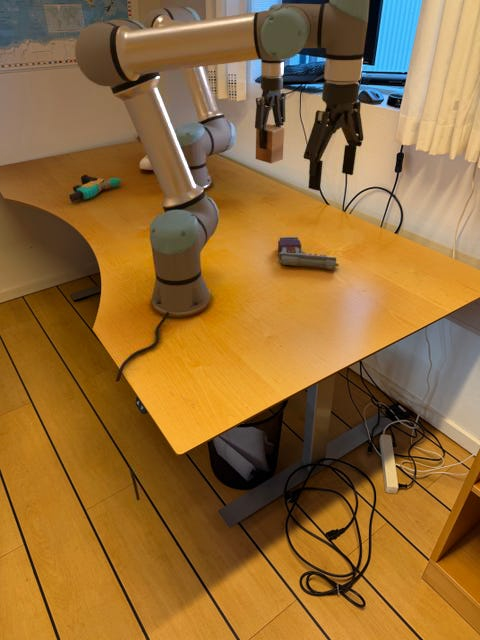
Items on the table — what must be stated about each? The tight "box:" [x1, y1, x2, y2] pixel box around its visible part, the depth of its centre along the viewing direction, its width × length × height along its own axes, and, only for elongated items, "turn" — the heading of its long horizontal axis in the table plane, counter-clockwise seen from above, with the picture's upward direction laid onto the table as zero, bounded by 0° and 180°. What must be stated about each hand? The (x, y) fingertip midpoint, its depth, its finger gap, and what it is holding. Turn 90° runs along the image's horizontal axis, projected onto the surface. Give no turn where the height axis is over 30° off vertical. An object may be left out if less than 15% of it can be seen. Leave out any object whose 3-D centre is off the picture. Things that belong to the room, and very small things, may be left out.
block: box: [255, 123, 285, 165], centre depth 173 cm, size 8×7×11 cm
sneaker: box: [139, 154, 153, 171], centre depth 214 cm, size 10×29×12 cm, turn 163°
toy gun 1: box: [69, 174, 122, 203], centre depth 188 cm, size 4×26×15 cm
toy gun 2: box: [277, 236, 339, 270], centre depth 142 cm, size 4×19×15 cm
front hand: (331, 181), depth 111 cm, fingers open, 13 cm apart
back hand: (269, 145), depth 173 cm, fingers closed on block, 7 cm apart
